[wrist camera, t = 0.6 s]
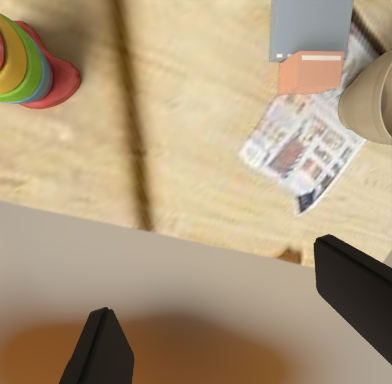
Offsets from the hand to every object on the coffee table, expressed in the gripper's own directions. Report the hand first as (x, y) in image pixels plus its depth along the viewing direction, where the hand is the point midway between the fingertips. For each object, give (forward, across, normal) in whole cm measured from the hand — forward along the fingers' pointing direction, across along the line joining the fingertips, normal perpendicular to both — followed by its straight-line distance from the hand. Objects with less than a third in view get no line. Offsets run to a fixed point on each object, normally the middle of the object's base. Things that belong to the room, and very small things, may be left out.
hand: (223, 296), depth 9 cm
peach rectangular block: (+29, -27, -12) cm, 41 cm away
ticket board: (+29, -29, -19) cm, 45 cm away
